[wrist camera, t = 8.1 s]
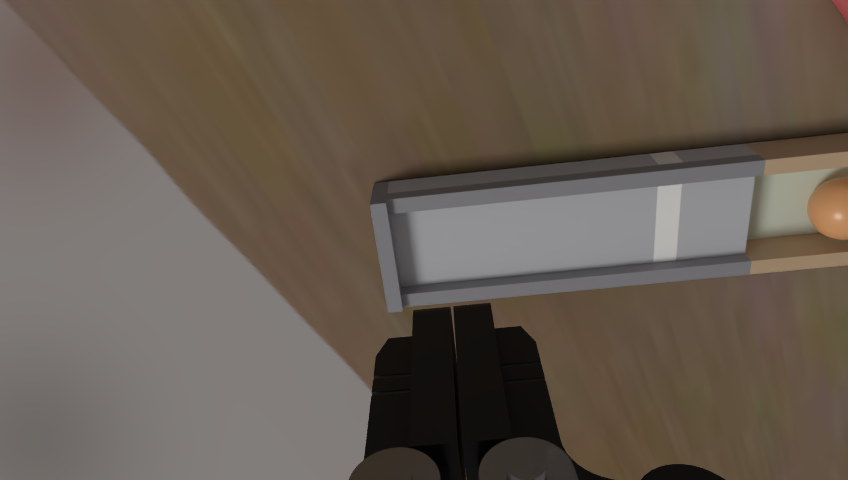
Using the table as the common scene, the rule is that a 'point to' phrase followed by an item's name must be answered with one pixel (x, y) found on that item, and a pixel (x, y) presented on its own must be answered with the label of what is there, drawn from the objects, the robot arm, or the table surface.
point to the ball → (830, 208)
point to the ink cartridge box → (842, 7)
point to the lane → (606, 222)
